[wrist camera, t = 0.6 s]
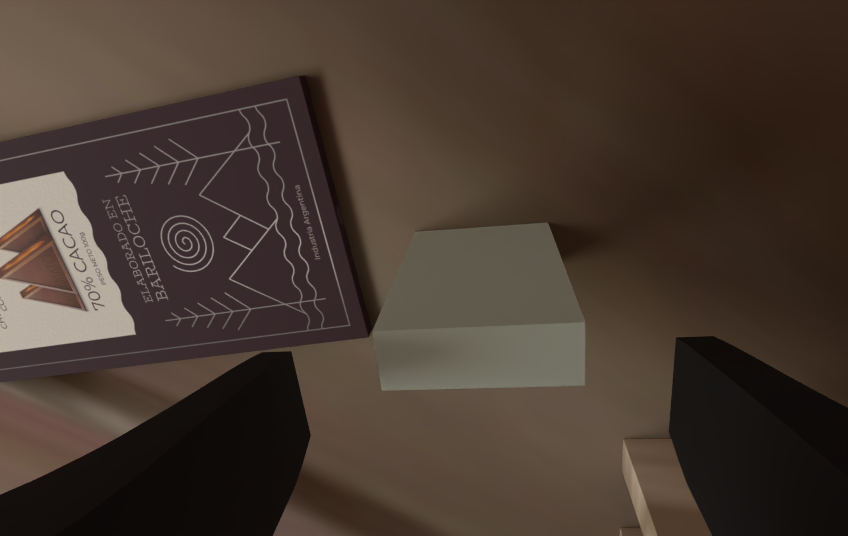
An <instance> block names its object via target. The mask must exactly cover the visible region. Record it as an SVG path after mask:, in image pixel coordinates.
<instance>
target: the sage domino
mask: <svg viewBox="0 0 848 536" xmlns="http://www.w3.org/2000/svg"><path fill="white" fill-rule="evenodd" d="M372 333H373V339H374V345H375V352H376V358H377V364H378V370H379V376H380V382H381V388H382V391H383V390H423V389H464V388H505V387H546V386H585V320H584V318H583V315H582V312H581V310H580V307H579V304H578V301H577V299H576V296H575V293H574V291H573V288H572V285H571V283H570V280H569V277H568V275H567V272H566V269H565V267H564V264H563V261H562V259H561V256H560V253H559V251H558V248H557V245H556V243H555V240H554V237H553V234H552V232H551V229H550V226H549V224H548V222H547V223H533V224H519V225H504V226H490V227H476V228H461V229H447V230H433V231H418V232H415V233H414V235H413V238H412V240H411V242H410V245H409V247H408V249H407V252H406V254H405V256H404V259H403V261H402V263H401V266H400V268H399V270H398V273H397V275H396V277H395V279H394V282H393V284H392V286H391V289H390V291H389V293H388V296H387V298H386V300H385V303H384V305H383V307H382V310H381V312H380V314H379V317H378V319H377V321H376V324H375V326H374V328H373V331H372Z"/></svg>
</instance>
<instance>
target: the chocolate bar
mask: <svg viewBox="0 0 848 536" xmlns="http://www.w3.org/2000/svg"><path fill="white" fill-rule="evenodd" d="M370 332H371V326H370V323H369V319H368V315H367V311H366V307H365V303H364V300H363V296H362V292H361V288H360V284H359V281H358V277H357V273H356V269H355V265H354V261H353V258H352V254H351V250H350V246H349V242H348V239H347V235H346V231H345V227H344V223H343V219H342V216H341V212H340V208H339V204H338V200H337V197H336V193H335V189H334V185H333V181H332V178H331V174H330V170H329V166H328V162H327V158H326V155H325V151H324V147H323V143H322V139H321V136H320V132H319V128H318V124H317V120H316V116H315V113H314V109H313V105H312V101H311V97H310V94H309V90H308V86H307V82H306V78H305V76H297V77H292V78H288V79H283V80H279V81H274V82H270V83H265V84H261V85H256V86H252V87H247V88H243V89H238V90H234V91H229V92H225V93H220V94H216V95H211V96H207V97H202V98H198V99H193V100H189V101H184V102H180V103H175V104H171V105H166V106H162V107H157V108H153V109H148V110H144V111H139V112H135V113H130V114H126V115H121V116H117V117H112V118H108V119H103V120H99V121H94V122H90V123H85V124H81V125H76V126H72V127H67V128H63V129H58V130H54V131H49V132H45V133H40V134H36V135H31V136H27V137H22V138H18V139H13V140H9V141H4V142H0V382H5V381H13V380H21V379H29V378H37V377H46V376H54V375H62V374H70V373H78V372H87V371H95V370H103V369H111V368H119V367H128V366H136V365H144V364H152V363H161V362H169V361H177V360H185V359H193V358H202V357H210V356H218V355H226V354H234V353H243V352H251V351H259V350H267V349H275V348H284V347H292V346H300V345H308V344H317V343H325V342H333V341H341V340H349V339H358V338H366V337H369V335H370Z"/></svg>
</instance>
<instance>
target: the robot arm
mask: <svg viewBox="0 0 848 536" xmlns="http://www.w3.org/2000/svg"><path fill="white" fill-rule="evenodd" d="M669 434H670V437H671V440H672V443H673V446H674V449H675V452H676V455H677V458H678V461H679V463H680V466H681V469H682V472H683V475H684V477H685V480H686V483H687V485H688V487H689V489H690V491H691V494H692V496H693V498H694V500H695V502H696V504H697V506H698V508H699V510H700V512H701V514H702V516H703V518H704V520H705V522H706V524H707V526H708V528H709V530H710V532H711V534H712V536H848V408H847V407H845V406H843V405H841V404H839V403H837V402H835V401H833V400H831V399H830V398H828V397H826V396H824V395H822V394H820V393H818V392H816V391H815V390H813V389H811V388H809V387H807V386H805V385H804V384H802V383H800V382H798V381H796V380H794V379H793V378H791V377H789V376H787V375H785V374H783V373H782V372H780V371H778V370H776V369H774V368H773V367H771V366H769V365H767V364H765V363H764V362H762V361H760V360H758V359H756V358H755V357H753V356H751V355H749V354H747V353H746V352H744V351H742V350H740V349H738V348H736V347H734V346H732V345H731V344H729V343H727V342H725V341H723V340H720V339H718V338H716V337H714V336H707V337H679V338H676V346H675V359H674V372H673V385H672V398H671V411H670V424H669ZM310 436H311V435H310V431H309V426H308V422H307V418H306V413H305V409H304V405H303V400H302V396H301V392H300V387H299V383H298V379H297V374H296V370H295V366H294V361H293V357H292V353H291V351H289V352H262V353H260V354H258V355H256V356H254V357H252V358H250V359H248V360H246V361H245V362H243V363H241V364H239V365H238V366H236V367H234V368H233V369H231V370H229V371H228V372H226V373H224V374H223V375H221V376H220V377H218V378H216V379H215V380H213V381H212V382H210V383H208V384H207V385H205V386H204V387H202V388H200V389H199V390H197V391H195V392H194V393H192V394H191V395H189V396H187V397H186V398H184V399H183V400H181V401H179V402H178V403H176V404H175V405H173V406H171V407H170V408H168V409H166V410H165V411H163V412H161V413H159V414H158V415H156V416H154V417H152V418H151V419H149V420H147V421H146V422H144V423H142V424H140V425H139V426H137V427H135V428H134V429H132V430H130V431H128V432H127V433H125V434H123V435H121V436H120V437H118V438H116V439H115V440H113V441H111V442H109V443H107V444H105V445H103V446H102V447H100V448H98V449H96V450H94V451H92V452H90V453H88V454H86V455H84V456H83V457H80V458H78V459H76V460H74V461H72V462H70V463H68V464H66V465H64V466H62V467H60V468H58V469H56V470H54V471H52V472H50V473H48V474H46V475H44V476H42V477H40V478H37V479H35V480H33V481H31V482H29V483H26V484H24V485H22V486H19V487H17V488H15V489H12V490H10V491H8V492H5V493H3V494H1V495H0V536H273V534H274V531H275V529H276V527H277V525H278V523H279V521H280V518H281V516H282V514H283V512H284V509H285V507H286V505H287V503H288V501H289V498H290V496H291V494H292V492H293V489H294V487H295V485H296V482H297V479H298V476H299V473H300V470H301V467H302V464H303V461H304V457H305V454H306V450H307V446H308V443H309V439H310Z"/></svg>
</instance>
